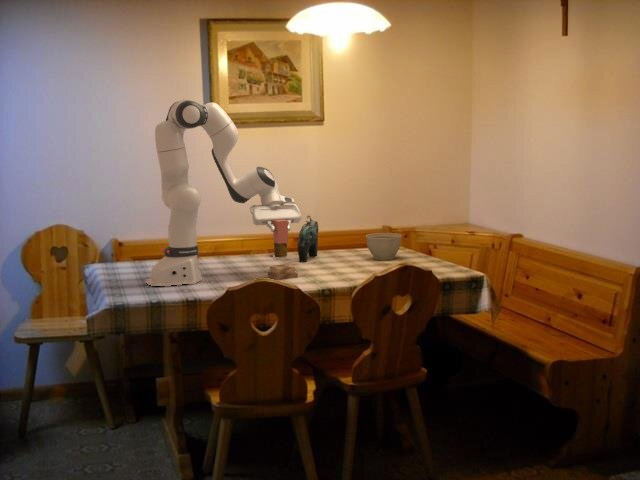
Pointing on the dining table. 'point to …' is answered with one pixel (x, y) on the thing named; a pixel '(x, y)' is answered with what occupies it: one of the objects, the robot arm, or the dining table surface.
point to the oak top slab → (282, 269)
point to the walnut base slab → (283, 276)
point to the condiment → (280, 250)
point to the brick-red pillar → (280, 231)
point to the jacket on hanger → (308, 240)
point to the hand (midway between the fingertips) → (281, 230)
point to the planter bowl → (383, 245)
